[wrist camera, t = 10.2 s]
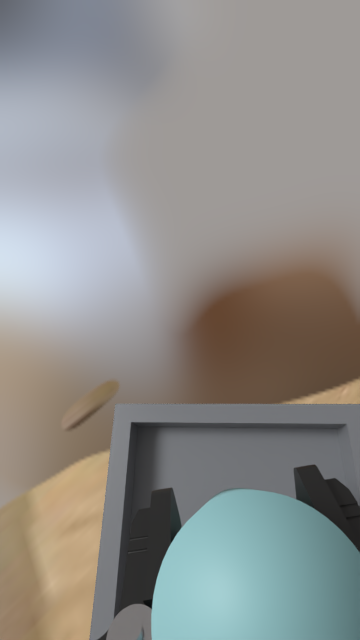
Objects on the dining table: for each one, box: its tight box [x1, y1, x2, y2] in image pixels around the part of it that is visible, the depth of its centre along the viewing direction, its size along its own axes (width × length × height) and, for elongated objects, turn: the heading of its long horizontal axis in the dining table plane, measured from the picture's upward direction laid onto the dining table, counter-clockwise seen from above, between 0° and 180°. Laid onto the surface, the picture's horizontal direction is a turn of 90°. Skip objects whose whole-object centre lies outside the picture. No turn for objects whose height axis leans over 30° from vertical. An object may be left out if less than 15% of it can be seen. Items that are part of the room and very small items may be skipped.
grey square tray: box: [89, 404, 360, 640], centre depth 22 cm, size 16×14×6 cm
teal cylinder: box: [151, 488, 360, 640], centre depth 11 cm, size 4×4×10 cm
